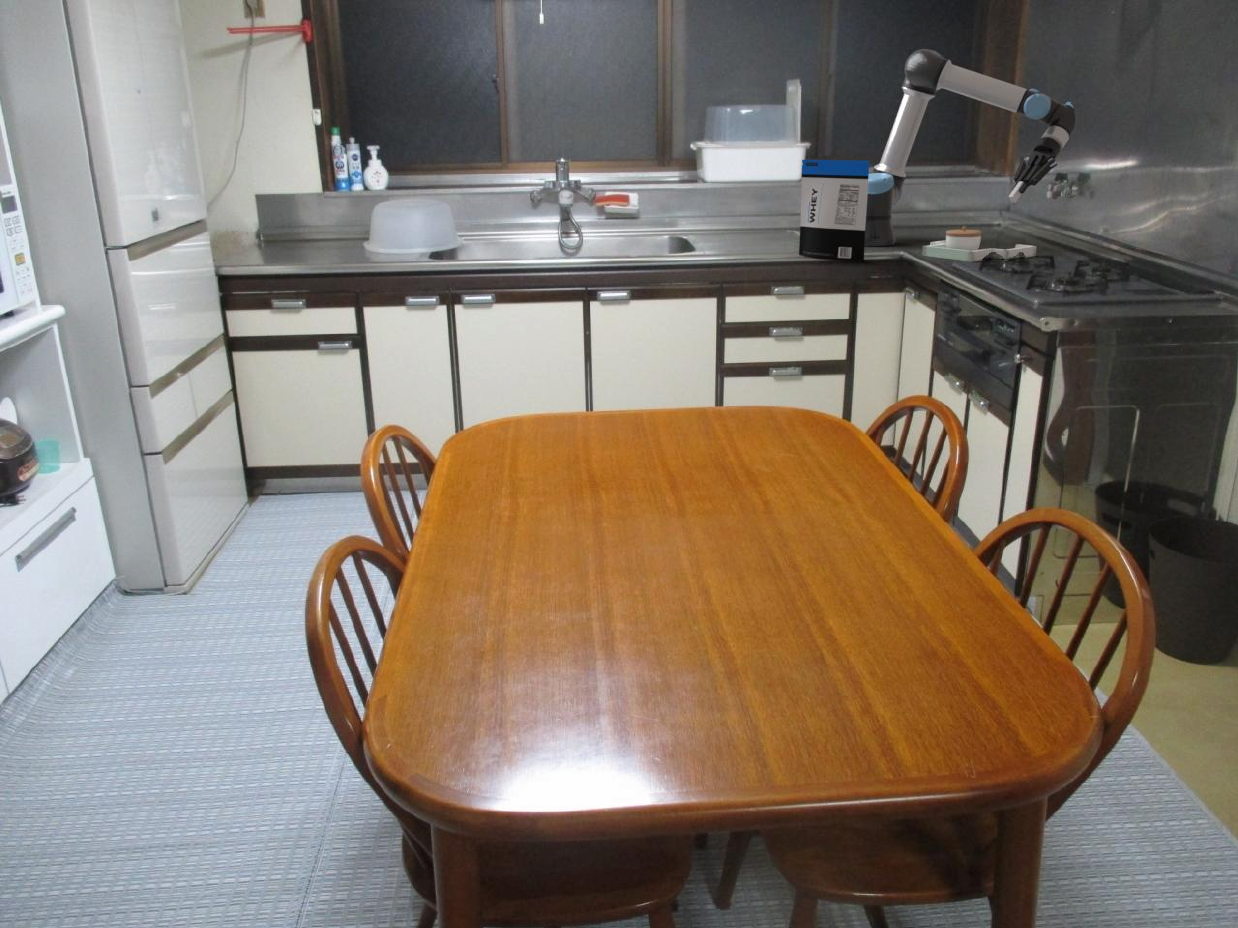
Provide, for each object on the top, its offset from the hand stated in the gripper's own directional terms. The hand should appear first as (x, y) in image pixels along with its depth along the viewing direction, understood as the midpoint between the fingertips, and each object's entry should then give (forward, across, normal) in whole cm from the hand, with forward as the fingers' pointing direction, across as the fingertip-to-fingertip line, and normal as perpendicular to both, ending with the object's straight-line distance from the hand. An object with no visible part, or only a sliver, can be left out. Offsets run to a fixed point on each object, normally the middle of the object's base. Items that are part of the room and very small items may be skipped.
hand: (1011, 199), depth 329 cm
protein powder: (+50, +26, +26) cm, 62 cm away
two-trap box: (+24, 0, +1) cm, 24 cm away
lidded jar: (+27, 0, +4) cm, 27 cm away
